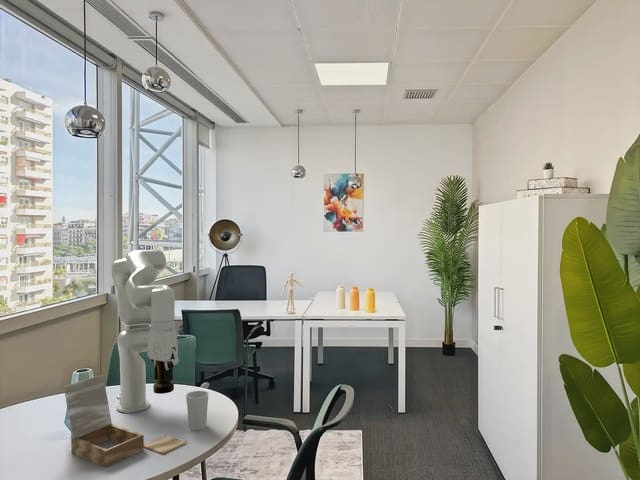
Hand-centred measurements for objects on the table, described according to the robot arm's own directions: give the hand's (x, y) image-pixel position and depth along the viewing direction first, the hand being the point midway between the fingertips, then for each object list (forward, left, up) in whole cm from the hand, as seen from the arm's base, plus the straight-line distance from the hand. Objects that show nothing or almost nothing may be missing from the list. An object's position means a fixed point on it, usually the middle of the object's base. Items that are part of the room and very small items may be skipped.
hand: (163, 379), depth 171 cm
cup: (-2, +17, -23) cm, 28 cm away
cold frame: (-14, -13, -22) cm, 29 cm away
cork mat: (0, 0, -22) cm, 22 cm away
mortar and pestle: (0, 0, -4) cm, 4 cm away
